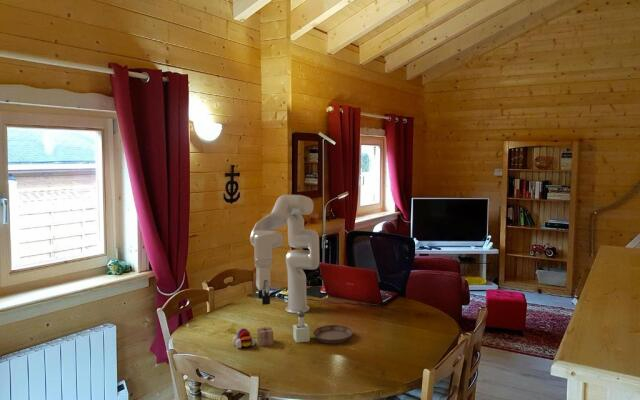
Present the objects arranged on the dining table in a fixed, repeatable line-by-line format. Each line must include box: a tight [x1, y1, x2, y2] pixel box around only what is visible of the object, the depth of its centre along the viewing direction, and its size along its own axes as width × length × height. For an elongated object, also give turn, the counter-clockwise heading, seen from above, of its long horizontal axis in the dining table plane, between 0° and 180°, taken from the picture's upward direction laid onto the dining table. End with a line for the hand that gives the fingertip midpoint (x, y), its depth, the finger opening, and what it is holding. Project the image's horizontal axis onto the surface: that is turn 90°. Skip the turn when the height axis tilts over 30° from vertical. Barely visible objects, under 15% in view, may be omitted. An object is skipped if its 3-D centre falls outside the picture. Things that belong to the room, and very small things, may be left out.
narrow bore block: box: [256, 326, 274, 347], centre depth 230 cm, size 6×6×6 cm
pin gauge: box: [297, 311, 305, 328], centre depth 233 cm, size 3×3×12 cm
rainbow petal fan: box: [232, 327, 256, 349], centre depth 228 cm, size 8×10×7 cm
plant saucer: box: [312, 324, 354, 344], centre depth 235 cm, size 18×18×3 cm
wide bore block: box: [292, 323, 311, 343], centre depth 233 cm, size 6×6×6 cm
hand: (264, 301), depth 228 cm, fingers open, 9 cm apart
